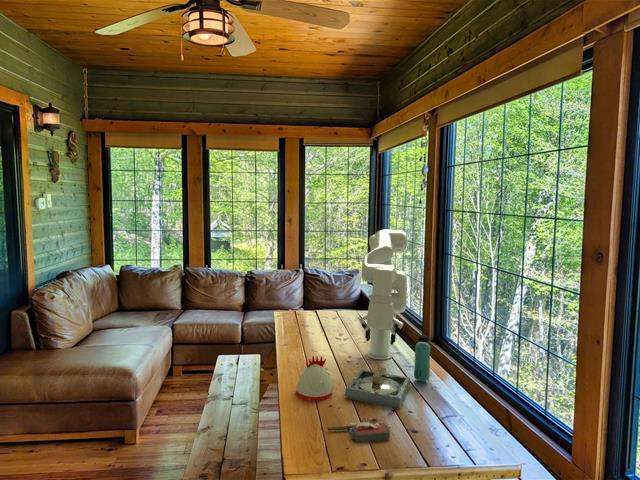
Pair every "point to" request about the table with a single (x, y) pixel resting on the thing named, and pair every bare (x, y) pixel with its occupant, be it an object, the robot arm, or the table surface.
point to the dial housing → (374, 397)
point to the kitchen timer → (314, 382)
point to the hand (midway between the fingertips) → (380, 342)
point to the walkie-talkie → (366, 431)
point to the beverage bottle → (422, 359)
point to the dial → (379, 383)
